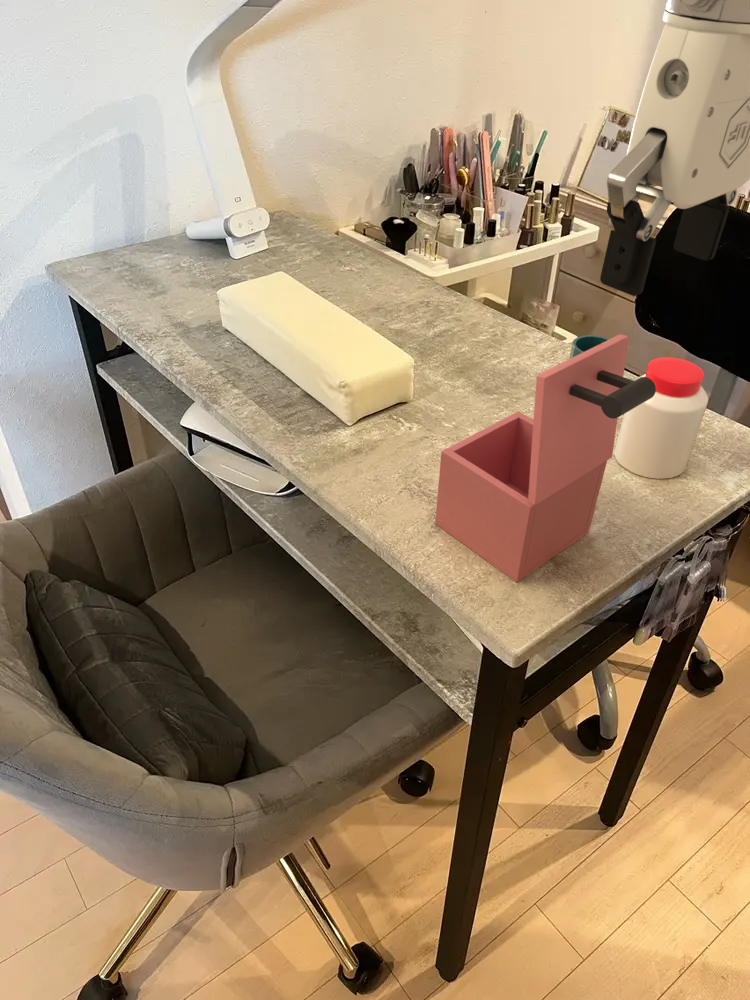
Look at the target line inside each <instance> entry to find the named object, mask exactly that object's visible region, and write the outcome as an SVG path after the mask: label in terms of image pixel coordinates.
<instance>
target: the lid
mask: <svg viewBox="0 0 750 1000" xmlns="http://www.w3.org/2000/svg"><path fill="white" fill-rule="evenodd" d="M629 338H630V337H629V335H626V334H622V333H619V334H617V335H616V336H614V337H612V338H609V339H610V340H608V341H605V342H603V343H601V344H599V345H597V346H595V347H593V348H591V349H589V350H587V351H585V352H583V353H581V354H579V355H577V356H575V357H573V358H571V359H569V358H568V359H566V360H565V361H562V362H561V363H558V364H557V365H554V366H553V367H550V368H548V369H546V370H544V371H542V372H540V373H538V374H537V375H536V377H535V378H536V380H535V392H534V393H535V395H534V396H535V397H534V410H533V420H534V421H533V436H532V451H531V465H530V480H529V494H528V502H530V503H532V504H534V505H536V504H538V503H540V502H541V501H543V500H544V499H546V498H548V497H549V496H551V495H552V494H554V493H556V492H557V491H559V490H560V489H562V488H564V487H565V486H567V485H568V484H570V483H572V482H573V481H575V480H577V479H578V478H580V477H581V476H583V475H585V474H586V473H588V472H589V471H591V470H593V469H594V468H596V467H597V466H599V465H601V464H602V463H604V462H605V461H607V462H608V461H609V460H610V459H613V454H614V448H615V438H616V433H617V425H618V418H619V417H622V416H623V415H624V414H625V413H626V412H628V411H630V410H632V409H633V408H635V407H637V406H638V405H640V404H642V403H644V402H645V401H647V400H649V399H651V398H652V397H653V396H654V395H655V392H656V387H655V384H654V382H653V381H652V380H651V379H650V378H647V377H640V376H639V377H640V378H638V377H637V378H638V379H637V378H636V379H637V380H635V379H630V378H627V377H624V375H625V366H626V360H627V353H628V345H629ZM634 380H635V381H634Z"/></svg>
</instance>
